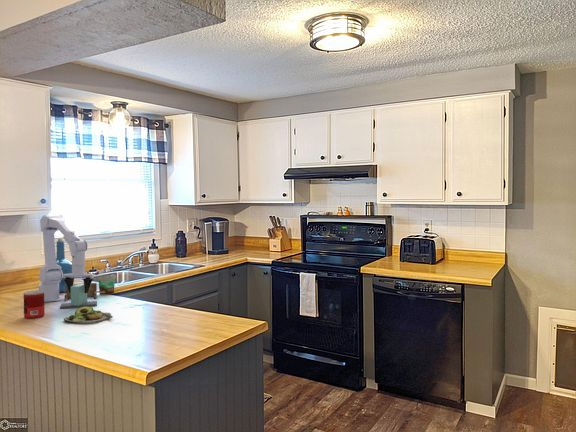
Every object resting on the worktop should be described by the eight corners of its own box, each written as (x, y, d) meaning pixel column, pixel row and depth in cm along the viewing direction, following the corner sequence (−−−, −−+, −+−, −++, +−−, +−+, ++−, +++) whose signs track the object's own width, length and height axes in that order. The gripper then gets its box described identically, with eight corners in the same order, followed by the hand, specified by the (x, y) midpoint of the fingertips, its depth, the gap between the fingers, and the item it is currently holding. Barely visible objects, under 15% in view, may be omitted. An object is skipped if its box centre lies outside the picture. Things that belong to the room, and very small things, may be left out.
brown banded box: (64, 301, 234) (64, 287, 234) (66, 297, 243) (65, 284, 243) (96, 298, 240) (96, 285, 240) (96, 295, 248) (96, 282, 248)
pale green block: (70, 305, 219) (70, 286, 219) (79, 301, 227) (79, 283, 227) (79, 305, 219) (78, 286, 219) (87, 302, 227) (87, 283, 227)
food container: (108, 295, 249) (107, 277, 249) (97, 294, 251) (97, 276, 250) (120, 291, 262) (120, 273, 261) (110, 290, 263) (110, 273, 263)
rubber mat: (60, 308, 216) (60, 306, 216) (61, 305, 224) (61, 303, 224) (96, 306, 222) (96, 304, 222) (97, 302, 230) (96, 300, 230)
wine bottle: (78, 289, 268) (78, 238, 267) (63, 293, 255) (63, 239, 254) (57, 288, 270) (57, 237, 269) (41, 292, 257) (41, 239, 256)
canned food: (48, 315, 204) (48, 290, 203) (33, 319, 196) (32, 294, 196) (35, 314, 206) (35, 289, 206) (19, 318, 198) (19, 293, 198)
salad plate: (124, 316, 202) (124, 306, 202) (96, 326, 185) (96, 315, 185) (87, 313, 208) (87, 303, 208) (57, 323, 191) (57, 312, 191)
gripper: (96, 264, 226) (97, 291, 227) (68, 263, 227) (68, 291, 227) (89, 266, 219) (90, 294, 219) (60, 265, 220) (60, 293, 220)
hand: (78, 292), depth 223 cm, fingers open, 7 cm apart
